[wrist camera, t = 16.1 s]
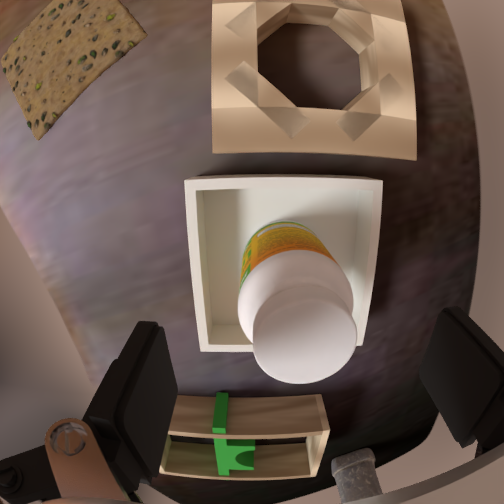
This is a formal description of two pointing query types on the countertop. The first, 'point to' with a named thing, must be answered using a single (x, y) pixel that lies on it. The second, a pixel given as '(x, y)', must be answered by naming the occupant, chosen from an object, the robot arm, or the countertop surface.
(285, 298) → the supplement bottle
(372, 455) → the stone
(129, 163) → the countertop surface
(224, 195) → the tray
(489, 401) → the robot arm
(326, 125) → the plate
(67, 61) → the speckled tile
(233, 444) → the pipe clamp
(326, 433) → the parts corral
